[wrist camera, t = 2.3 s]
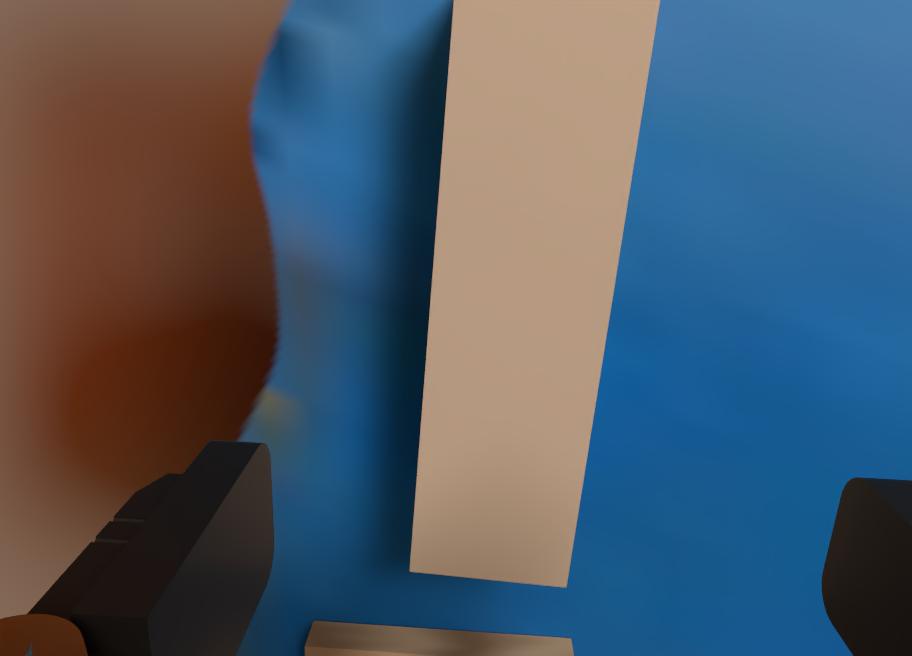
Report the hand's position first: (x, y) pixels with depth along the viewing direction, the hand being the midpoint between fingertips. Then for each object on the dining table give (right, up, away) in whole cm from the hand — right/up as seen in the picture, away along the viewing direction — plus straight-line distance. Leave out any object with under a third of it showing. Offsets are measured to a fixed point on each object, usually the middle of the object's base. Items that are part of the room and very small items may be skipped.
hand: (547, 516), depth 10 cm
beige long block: (+1, +5, +15) cm, 16 cm away
